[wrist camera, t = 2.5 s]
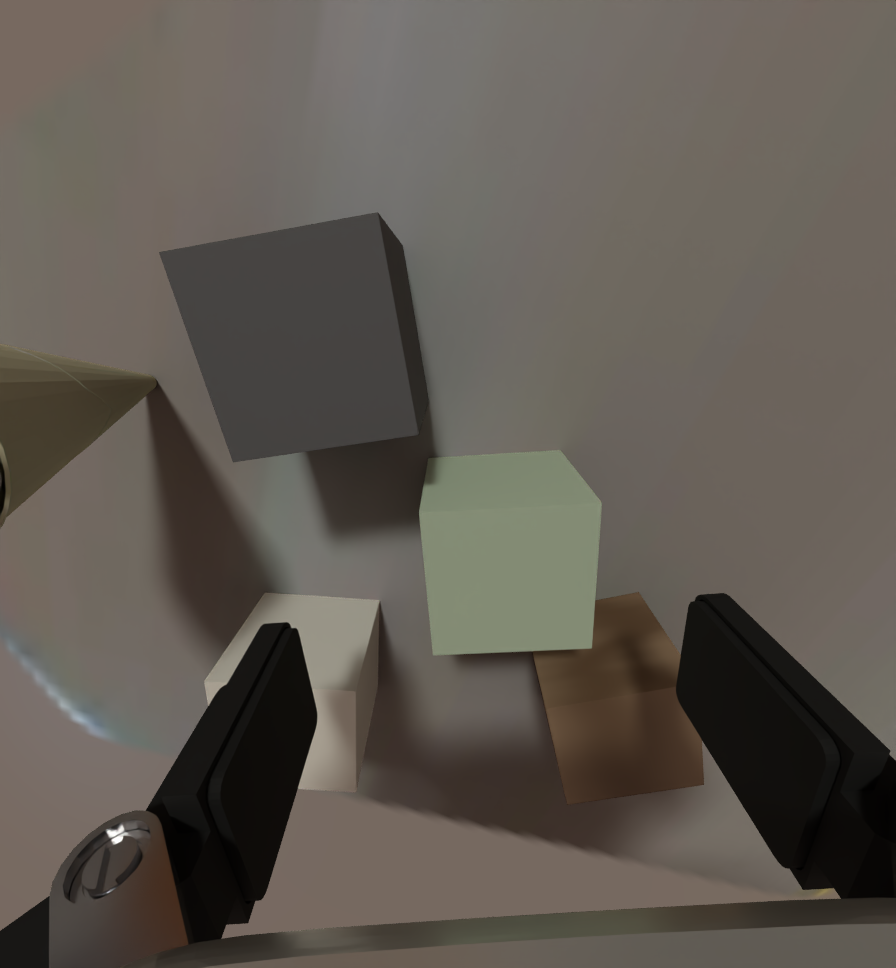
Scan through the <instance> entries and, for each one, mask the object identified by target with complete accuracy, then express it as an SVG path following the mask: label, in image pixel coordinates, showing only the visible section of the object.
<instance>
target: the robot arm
mask: <svg viewBox="0 0 896 968" xmlns="http://www.w3.org/2000/svg"><path fill="white" fill-rule="evenodd" d="M676 695H677V698H678V701H679V703H680V705H681V707H682V709H683V710H684V712H685V713H686V715H687V717H688V718H689V720H690V721H691V723H692V725H693V726H694V728H695V729H696V731H697V733H698V734H699V736H700V738H701V739H702V741H703V742H704V744H705V746H706V747H707V749H708V750H709V752H710V754H711V755H712V757H713V758H714V760H715V762H716V763H717V765H718V767H719V768H720V770H721V771H722V773H723V775H724V776H725V778H726V779H727V781H728V783H729V784H730V786H731V787H732V789H733V791H734V792H735V794H736V796H737V797H738V799H739V800H740V802H741V804H742V805H743V807H744V808H745V810H746V812H747V813H748V815H749V816H750V818H751V820H752V821H753V823H754V825H755V826H756V828H757V829H758V831H759V833H760V834H761V836H762V837H763V839H764V841H765V842H766V844H767V845H768V847H769V849H770V850H771V852H772V854H773V855H774V857H775V858H776V859H777V861H778V862H779V863H780V864H781V865H782V866H783V867H785V868H790V870H791V871H792V873H793V875H794V876H795V878H796V879H797V881H798V883H799V884H800V886H801V887H802V889H803V890H809V889H826V888H834V889H835V890H836V892H837V893H838V895H839V896H840V898H841V899H819V900H788V901H768V902H750V903H733V904H732V903H731V904H713V905H694V906H676V907H657V908H640V909H639V908H638V909H621V910H606V911H588V912H571V913H556V914H555V913H554V914H538V915H522V916H506V917H505V916H504V917H488V918H472V919H458V920H442V921H426V922H411V923H398V924H397V923H396V924H381V925H367V926H351V927H336V928H324V929H313V930H301V931H290V932H279V933H267V934H256V935H244V936H238V937H231V938H225V939H221V938H222V935H223V932H224V929H225V926H226V925H227V924H242V923H248V922H249V919H250V915H251V913H252V909H253V906H254V903H255V901H258V900H261V899H262V898H263V897H264V895H265V893H266V891H267V888H268V884H269V881H270V878H271V875H272V871H273V868H274V865H275V861H276V858H277V854H278V852H279V848H280V845H281V841H282V838H283V835H284V832H285V828H286V825H287V822H288V819H289V815H290V812H291V809H292V806H293V802H294V799H295V796H296V792H297V789H298V786H299V783H300V779H301V776H302V773H303V769H304V766H305V763H306V759H307V756H308V753H309V750H310V746H311V743H312V740H313V736H314V733H315V730H316V726H317V708H316V704H315V699H314V695H313V691H312V687H311V682H310V678H309V674H308V670H307V665H306V661H305V657H304V653H303V648H302V644H301V640H300V636H299V632H298V630H297V628H291V625H290V624H289V623H288V622H282V623H266V624H263V625H262V626H261V627H260V628H259V630H258V632H257V633H256V635H255V637H254V638H253V640H252V642H251V644H250V645H249V647H248V649H247V650H246V652H245V654H244V655H243V657H242V659H241V661H240V662H239V664H238V666H237V667H236V669H235V671H234V673H233V674H232V676H231V678H230V679H229V681H228V683H227V685H224V686H223V687H221V688H220V689H219V690H218V692H217V693H216V694H215V696H214V698H213V699H212V701H211V703H210V704H209V706H208V708H207V709H206V711H205V713H204V714H203V716H202V718H201V719H200V721H199V723H198V724H197V726H196V728H195V729H194V731H193V733H192V734H191V736H190V738H189V739H188V741H187V743H186V744H185V746H184V748H183V749H182V751H181V753H180V754H179V756H178V758H177V759H176V761H175V763H174V764H173V766H172V768H171V770H170V771H169V773H168V774H167V776H166V778H165V779H164V781H163V783H162V784H161V786H160V788H159V789H158V791H157V793H156V795H155V796H154V798H153V799H152V801H151V803H150V804H149V806H148V808H147V809H146V811H132V812H129V813H125V814H121V815H119V816H117V817H115V818H113V819H111V820H109V821H107V822H105V823H104V824H102V825H101V826H99V827H98V828H97V829H96V830H94V831H92V832H91V833H90V834H88V835H87V836H86V837H85V838H84V839H83V840H82V841H81V842H80V843H79V844H78V845H77V846H76V847H75V848H74V849H73V850H72V852H71V853H70V854H69V856H68V857H67V858H66V860H65V861H64V862H63V864H62V865H61V867H60V869H59V870H58V873H57V874H56V876H55V879H54V880H53V883H52V888H51V892H50V896H49V897H47V898H46V899H44V900H43V901H42V902H40V903H39V904H37V905H36V906H35V907H33V908H32V909H30V910H29V911H28V912H26V913H25V914H23V915H22V916H21V917H19V918H18V919H16V920H15V921H14V922H12V923H11V924H9V925H8V926H7V927H5V928H4V929H2V930H1V931H0V968H896V761H895V760H894V759H893V758H892V757H891V756H890V755H889V753H890V750H889V749H888V748H887V747H886V746H885V745H884V744H883V743H882V742H881V741H880V740H879V739H878V738H877V737H875V736H874V735H873V734H872V733H871V732H870V731H869V730H868V729H867V728H866V727H865V726H864V725H863V724H862V723H861V722H860V721H859V720H858V719H857V718H856V717H855V716H854V715H853V714H852V713H851V712H849V711H848V710H847V709H846V708H845V707H844V706H843V705H842V704H841V703H840V702H839V701H838V700H837V699H836V698H835V697H834V696H833V695H832V694H831V693H830V692H829V691H828V690H827V689H826V688H824V687H823V686H822V685H821V684H820V683H819V682H818V681H817V680H816V679H815V678H814V677H813V676H812V675H811V674H810V673H809V672H808V671H807V670H806V669H805V668H804V667H803V666H802V665H801V664H800V663H798V662H797V661H796V660H795V659H794V658H793V657H792V656H791V655H790V654H789V653H788V652H787V651H786V650H785V649H784V648H783V647H782V646H781V645H780V644H779V643H778V642H777V641H776V640H775V639H773V638H772V637H771V636H770V635H769V634H768V633H767V632H766V631H765V630H764V629H763V628H762V627H761V626H760V625H759V624H758V623H757V622H756V621H755V620H754V619H753V618H752V617H751V616H750V615H748V614H747V613H746V612H745V611H744V610H743V609H742V608H741V607H740V606H739V605H738V604H737V603H736V602H735V601H734V600H733V599H732V598H731V597H730V596H728V595H727V594H724V593H720V594H704V595H698V596H697V597H696V599H695V602H691V603H690V604H689V607H688V613H687V619H686V626H685V632H684V639H683V645H682V651H681V658H680V664H679V670H678V677H677V683H676Z"/></svg>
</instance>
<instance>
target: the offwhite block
mask: <svg viewBox="0 0 896 968" xmlns="http://www.w3.org/2000/svg"><path fill="white" fill-rule="evenodd" d="M379 603H380V600H367V599H352V598H338V597H323V596H308V595H294V594H279V593H264V594H263V596H262V597H261V599H260V600H259V602H258V603H257V605H256V606H255V608H254V609H253V611H252V612H251V613H250V615H249V616H248V618H247V619H246V621H245V622H244V624H243V625H242V627H241V628H240V630H239V631H238V633H237V634H236V635H235V637H234V638H233V640H232V641H231V643H230V644H229V646H228V647H227V649H226V650H225V652H224V653H223V654H222V656H221V657H220V659H219V660H218V662H217V663H216V665H215V666H214V668H213V669H212V671H211V672H210V674H209V675H208V676H207V678H206V679H205V681H204V683H205V689H206V695H207V701H208V706H209V704H210V703H211V701H212V699H213V698H214V696H215V694H216V693H217V692H218V690H219V689H220V688H221V687H223V686H224V685H227V683H228V681H229V679H230V678H231V676H232V674H233V673H234V671H235V669H236V667H237V666H238V664H239V662H240V661H241V659H242V657H243V655H244V654H245V652H246V650H247V649H248V647H249V645H250V644H251V642H252V640H253V638H254V637H255V635H256V633H257V632H258V630H259V628H260V627H261V626H262V625H263V624H266V623H282V622H288V623H289V624H290V625H291V628H297V630H298V632H299V636H300V640H301V644H302V648H303V653H304V657H305V661H306V665H307V670H308V674H309V678H310V682H311V687H312V691H313V695H314V699H315V704H316V708H317V726H316V730H315V733H314V736H313V740H312V743H311V746H310V750H309V753H308V756H307V759H306V763H305V766H304V769H303V773H302V776H301V779H300V783H299V786H298V789H310V790H325V791H341V792H356V791H357V786H358V782H359V777H360V772H361V767H362V762H363V757H364V752H365V748H366V743H367V738H368V733H369V728H370V723H371V718H372V713H373V709H374V704H375V699H376V694H377V689H378V657H379Z"/></svg>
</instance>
